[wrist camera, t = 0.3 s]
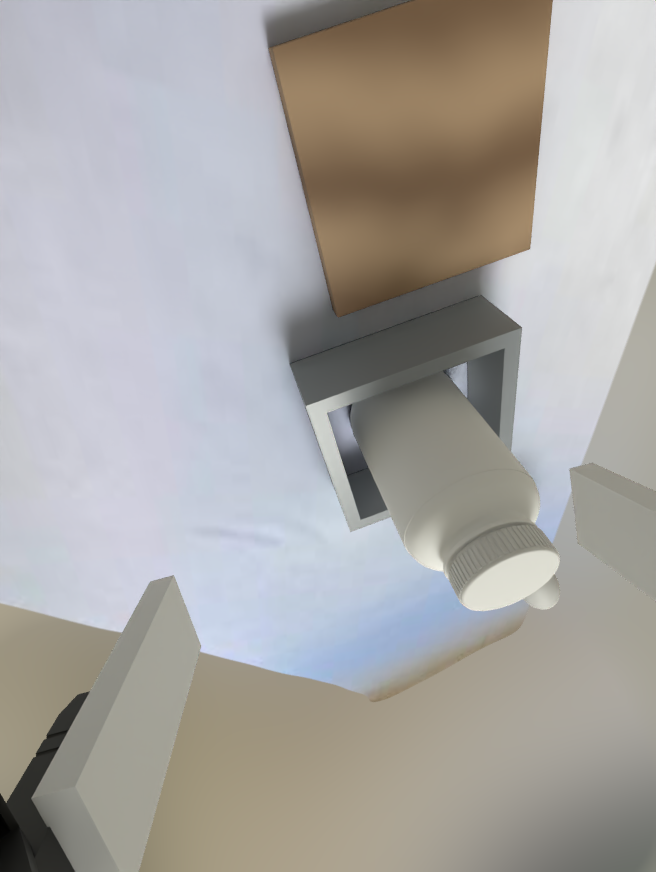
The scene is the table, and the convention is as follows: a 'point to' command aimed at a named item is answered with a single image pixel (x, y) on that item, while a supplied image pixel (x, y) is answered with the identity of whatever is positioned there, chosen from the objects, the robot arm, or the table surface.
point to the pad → (417, 140)
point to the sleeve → (406, 362)
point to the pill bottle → (455, 492)
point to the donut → (545, 595)
